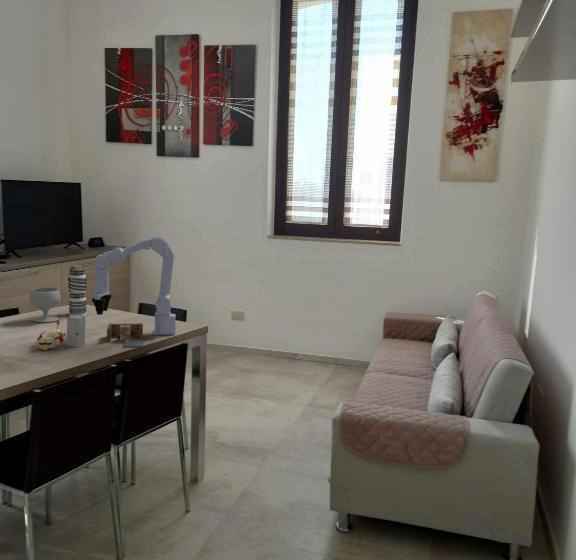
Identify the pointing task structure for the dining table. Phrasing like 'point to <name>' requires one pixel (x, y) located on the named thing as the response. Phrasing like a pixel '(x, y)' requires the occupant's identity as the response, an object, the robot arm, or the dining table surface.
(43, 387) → the dining table surface
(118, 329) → the brown wooden arch
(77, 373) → the dining table surface
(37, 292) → the chalice
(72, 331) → the skincare box
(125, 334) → the oak block
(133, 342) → the mat
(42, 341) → the cat figure
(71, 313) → the decorative candle
